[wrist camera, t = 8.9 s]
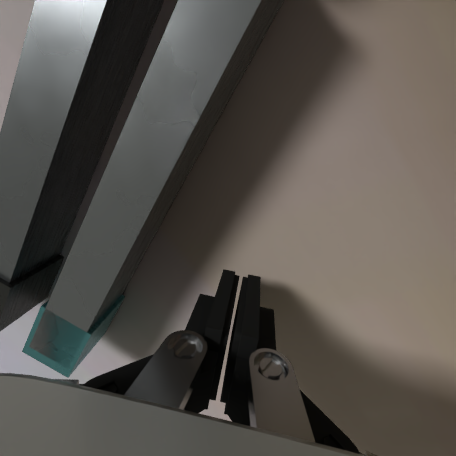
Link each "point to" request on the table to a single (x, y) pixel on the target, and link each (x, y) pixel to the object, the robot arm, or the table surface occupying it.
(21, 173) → the tongs fixed arm
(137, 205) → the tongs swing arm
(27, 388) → the robot arm
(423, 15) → the table surface
